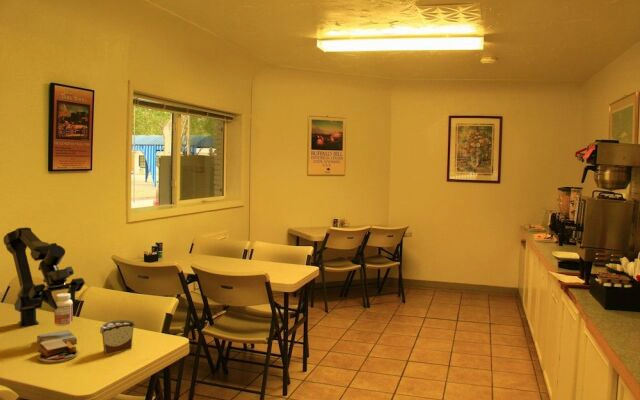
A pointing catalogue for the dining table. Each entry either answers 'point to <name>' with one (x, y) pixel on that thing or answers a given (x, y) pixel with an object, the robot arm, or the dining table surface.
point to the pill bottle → (63, 310)
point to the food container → (117, 335)
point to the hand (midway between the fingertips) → (65, 307)
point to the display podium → (58, 337)
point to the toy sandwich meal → (56, 351)
